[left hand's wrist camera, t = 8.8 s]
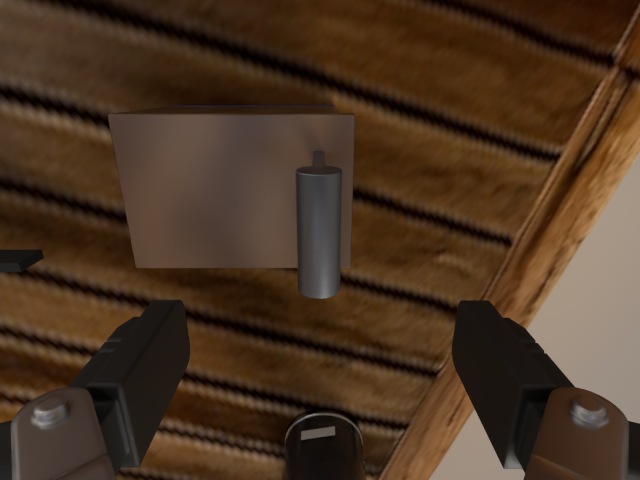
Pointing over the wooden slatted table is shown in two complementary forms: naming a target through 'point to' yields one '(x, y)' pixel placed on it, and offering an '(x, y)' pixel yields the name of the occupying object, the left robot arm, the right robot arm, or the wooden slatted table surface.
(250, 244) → the lid
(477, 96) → the wooden slatted table surface
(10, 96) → the wooden slatted table surface
